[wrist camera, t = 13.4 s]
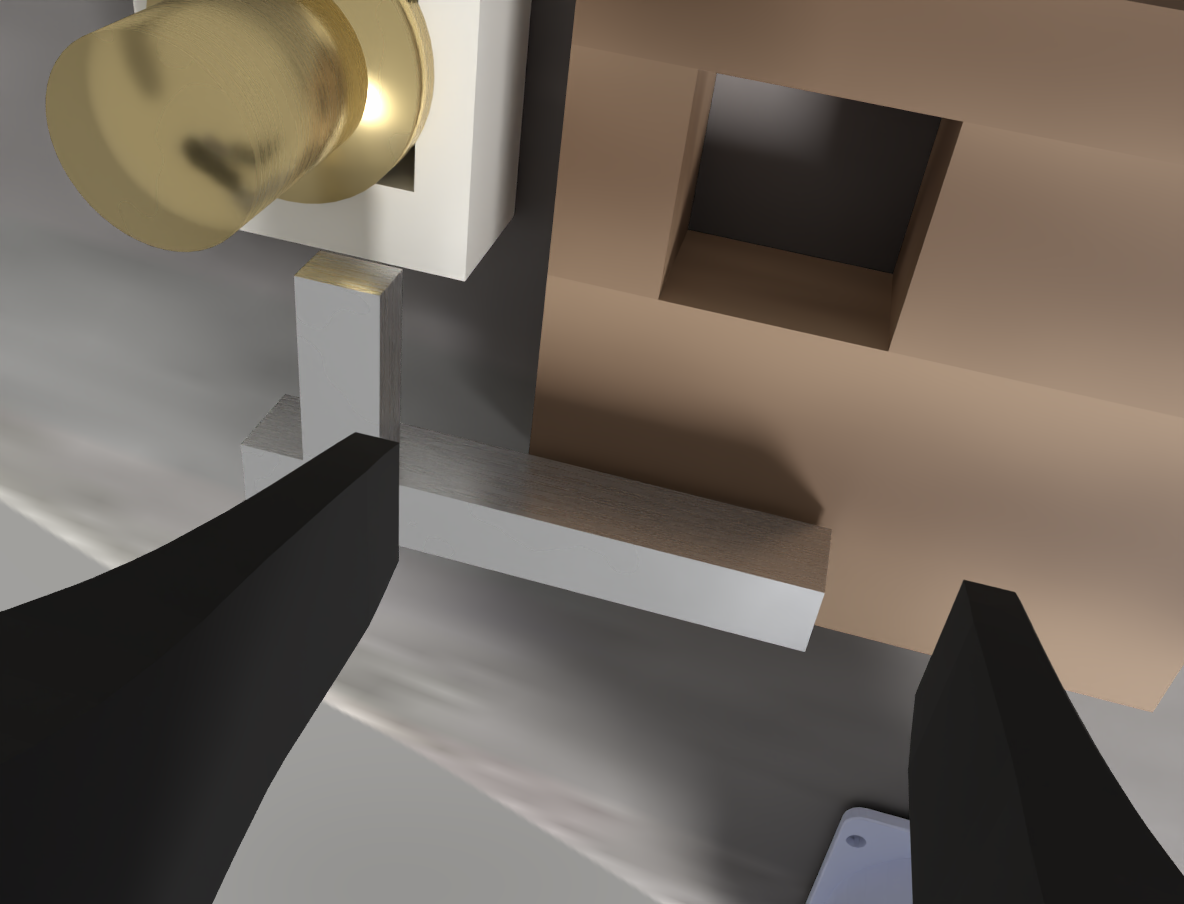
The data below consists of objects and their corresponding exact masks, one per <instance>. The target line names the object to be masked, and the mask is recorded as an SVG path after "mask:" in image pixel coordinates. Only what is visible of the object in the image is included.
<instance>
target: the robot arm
mask: <svg viewBox="0 0 1184 904" xmlns="http://www.w3.org/2000/svg"><path fill="white" fill-rule="evenodd" d="M398 561H399V442H395V441H391V440H387V439H383V438H379V437H374V436H370V435H366V434H362V433H358V432H354V433H353V434H351V435H349V436H348V437H346V438H344V439H343V440H341V441H340V442H338V443H336V444H335V445H333V446H332V447H330V448H328V449H327V450H325V451H324V452H322V453H320V454H319V455H317V456H316V457H314V458H312V459H311V460H309V461H308V462H306V463H305V464H303V465H301V466H300V467H298V468H297V469H295V470H294V471H292V472H290V473H289V474H287V475H286V476H284V477H283V478H281V479H279V480H278V481H276V482H275V483H273V484H271V485H270V486H268V487H266V488H265V489H263V490H262V491H260V492H258V493H257V494H255V495H253V496H252V497H250V498H248V499H247V500H245V501H243V502H242V503H240V504H238V505H237V506H235V507H233V508H232V509H230V510H228V511H227V512H225V513H223V514H221V515H219V516H218V517H216V518H214V519H212V520H210V521H208V522H207V523H205V524H203V525H201V526H199V527H197V528H196V529H194V530H192V531H190V532H188V533H186V534H184V535H183V536H181V537H179V538H177V539H175V540H173V541H172V542H170V543H168V544H166V545H164V546H162V547H160V548H158V549H156V550H154V551H152V552H150V553H148V554H145V555H143V556H141V557H139V558H137V559H135V560H133V561H131V562H128V563H126V564H124V565H121V566H119V567H117V568H114V569H112V570H110V571H108V572H105V573H103V574H101V575H99V576H96V577H94V578H92V579H89V580H86V581H84V582H82V583H79V584H77V585H74V586H71V587H68V588H65V589H63V590H60V591H57V592H54V593H52V594H49V595H47V596H44V597H41V598H38V599H35V600H33V601H30V602H27V603H24V604H21V605H19V606H16V607H13V608H11V609H8V610H5V611H1V612H0V904H212V903H213V901H214V899H215V897H216V894H217V892H218V890H219V888H220V886H221V884H222V882H223V879H224V877H225V875H226V873H227V871H228V869H229V867H230V865H231V862H232V860H233V858H234V856H235V854H236V852H237V850H238V848H239V846H240V844H241V842H242V840H243V838H244V836H245V834H246V832H247V830H248V828H249V826H250V823H251V822H252V820H253V818H254V815H255V814H256V811H257V810H258V807H259V805H260V803H261V801H262V799H263V797H264V795H265V793H266V791H267V789H268V787H269V786H270V784H271V782H272V780H273V779H274V777H275V775H276V773H277V771H278V770H279V768H280V767H281V765H282V763H283V761H284V760H285V758H286V756H287V755H288V753H289V751H290V750H291V748H292V747H293V745H294V744H295V742H296V741H297V739H298V737H299V736H300V734H301V733H302V731H303V730H304V728H305V726H306V725H307V723H308V722H309V720H310V718H311V717H312V715H313V714H314V712H315V711H316V709H317V708H318V706H319V704H320V703H321V701H322V700H323V698H324V697H325V695H326V693H327V692H328V690H329V689H330V687H331V686H332V684H333V682H334V681H335V679H336V678H337V676H338V675H339V673H340V671H341V670H342V668H343V667H344V665H345V663H346V662H347V660H348V659H349V657H350V655H351V654H352V652H353V651H354V649H355V647H356V646H357V644H358V643H359V641H360V639H361V638H362V636H363V635H364V633H365V631H366V630H367V628H368V626H369V625H370V622H371V620H372V618H373V616H374V614H375V612H376V610H377V608H378V606H379V603H380V601H381V599H382V597H383V595H384V593H385V590H386V588H387V586H388V584H389V581H390V579H391V577H392V575H393V572H394V570H395V568H396V566H397V563H398ZM908 779H909V814H910V820H907V819H904V818H900V817H897V816H893V815H889V814H886V813H882V812H878V811H875V810H871V809H868V808H862V807H855V808H851V809H849V810H847V811H846V812H845V813H844V814H843V816H842V818H841V821H840V823H839V826H838V828H837V830H836V833H835V835H834V837H833V840H832V842H831V845H830V847H829V849H828V852H827V854H826V856H825V859H824V861H823V863H822V866H821V868H820V871H819V873H818V875H817V878H816V880H815V882H814V885H813V887H812V889H811V892H810V894H809V897H808V899H807V901H806V904H1184V876H1183V874H1182V873H1181V872H1180V870H1179V869H1178V868H1177V866H1176V865H1175V864H1174V862H1173V861H1172V860H1171V858H1170V857H1169V856H1168V854H1167V853H1166V852H1165V850H1164V849H1163V848H1162V846H1161V845H1160V844H1159V842H1158V841H1157V840H1156V838H1155V837H1154V836H1153V834H1152V833H1151V832H1150V830H1149V829H1148V827H1147V826H1146V824H1145V823H1144V821H1143V820H1142V819H1141V817H1140V816H1139V814H1138V813H1137V811H1136V810H1135V808H1134V807H1133V805H1132V804H1131V802H1130V800H1129V799H1128V797H1127V796H1126V794H1125V792H1124V791H1123V789H1122V788H1121V786H1120V785H1119V783H1118V781H1117V780H1116V778H1115V777H1114V775H1113V774H1112V772H1111V770H1110V769H1109V767H1108V765H1107V764H1106V762H1105V760H1104V759H1103V757H1102V755H1101V754H1100V752H1099V750H1098V749H1097V747H1096V745H1095V744H1094V742H1093V740H1092V738H1091V736H1090V735H1089V733H1088V731H1087V729H1086V728H1085V726H1084V724H1083V722H1082V720H1081V719H1080V717H1079V715H1078V713H1077V711H1076V710H1075V708H1074V706H1073V704H1072V703H1071V701H1070V699H1069V697H1068V695H1067V693H1066V691H1065V689H1064V687H1063V686H1062V684H1061V682H1060V680H1059V678H1058V676H1057V674H1056V672H1055V670H1054V668H1053V666H1052V664H1051V662H1050V660H1049V658H1048V656H1047V654H1046V652H1045V650H1044V648H1043V646H1042V644H1041V642H1040V640H1039V638H1038V636H1037V634H1036V632H1035V630H1034V628H1033V625H1032V623H1031V621H1030V619H1029V617H1028V615H1027V613H1026V611H1025V609H1024V607H1023V605H1022V603H1021V601H1020V599H1019V597H1018V596H1017V594H1016V592H1013V591H1009V590H1005V589H1001V588H997V587H992V586H988V585H984V584H980V583H976V582H972V581H968V580H963V582H962V584H961V587H960V589H959V592H958V594H957V596H956V599H955V601H954V603H953V606H952V608H951V611H950V613H949V615H948V618H947V620H946V623H945V625H944V627H943V630H942V632H941V634H940V637H939V639H938V642H937V644H936V646H935V649H934V651H933V654H932V656H931V658H930V661H929V663H928V665H927V668H926V670H925V673H924V675H923V677H922V680H921V682H920V685H919V687H918V689H917V692H916V694H915V704H914V713H913V723H912V732H911V743H910V755H909V767H908Z"/></svg>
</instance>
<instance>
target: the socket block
mask: <svg viewBox="0 0 1184 904" xmlns="http://www.w3.org/2000/svg"><path fill="white" fill-rule="evenodd" d="M717 73H720V74H725V75H730V76H735V77H740V78H745V79H750V80H755V81H760V82H765V83H770V84H775V85H781V86H786V87H791V88H796V89H801V90H806V91H811V92H816V93H821V94H826V95H831V96H836V97H841V98H846V99H851V100H856V101H861V102H867V103H872V104H877V105H882V106H887V107H892V108H897V109H902V110H907V111H912V112H917V113H922V114H927V115H932V116H937V117H942V119H941V122H940V125H939V129H938V132H937V135H936V138H935V141H934V145H933V148H932V151H931V154H930V157H929V161H928V164H927V167H926V170H925V173H924V176H923V180H922V183H921V186H920V189H919V192H918V196H917V199H916V202H915V205H914V208H913V212H912V215H911V218H910V221H909V224H908V227H907V231H906V234H905V237H904V240H903V243H902V247H901V250H900V253H899V256H898V259H897V262H896V266H895V269H894V272H893V274H890V273H886V272H881V271H876V270H872V269H867V268H863V267H858V266H853V265H849V264H844V263H839V262H835V261H830V260H826V259H821V258H816V257H812V256H807V255H802V254H798V253H793V252H789V251H784V250H779V249H775V248H770V247H766V246H761V245H756V244H752V243H747V242H742V241H738V240H733V239H729V238H724V237H719V236H715V235H710V234H705V233H701V232H696V231H692V230H688V226H689V221H690V215H691V210H692V205H693V199H694V194H695V188H696V183H697V177H698V172H699V167H700V161H701V156H702V150H703V145H704V139H705V134H706V129H707V123H708V118H709V112H710V107H711V101H712V96H713V91H714V85H715V80H716V74H717ZM529 455H533V456H538V457H542V458H546V459H550V460H554V461H558V462H562V463H566V464H570V465H574V466H578V467H582V468H586V469H590V470H594V471H598V472H602V473H606V474H610V475H614V476H619V477H623V478H627V479H631V480H635V481H639V482H643V483H647V484H651V485H655V486H659V487H663V488H667V489H671V490H675V491H679V492H683V493H687V494H691V495H695V496H700V497H704V498H708V499H712V500H716V501H720V502H724V503H728V504H732V505H736V506H740V507H744V508H748V509H752V510H756V511H760V512H764V513H768V514H772V515H776V516H781V517H785V518H789V519H793V520H797V521H801V522H805V523H809V524H813V525H817V526H821V527H825V528H829V529H832V533H831V542H830V551H829V560H828V569H827V577H826V586H825V594H824V597H823V600H822V603H821V606H820V609H819V612H818V615H817V617H816V620H815V623H814V625H816V626H820V627H824V628H828V629H832V630H835V631H839V632H843V633H847V634H851V635H855V636H859V637H863V638H866V639H870V640H874V641H878V642H882V643H886V644H890V645H893V646H897V647H901V648H905V649H909V650H913V651H917V652H921V653H924V654H928V655H932V654H933V651H934V649H935V646H936V644H937V642H938V639H939V637H940V634H941V632H942V630H943V627H944V625H945V623H946V620H947V618H948V615H949V613H950V611H951V608H952V606H953V603H954V601H955V599H956V596H957V594H958V592H959V589H960V587H961V584H962V582H963V580H968V581H972V582H976V583H980V584H984V585H988V586H992V587H997V588H1001V589H1005V590H1009V591H1013V592H1016V594H1017V596H1018V597H1019V599H1020V601H1021V603H1022V605H1023V607H1024V609H1025V611H1026V613H1027V615H1028V617H1029V619H1030V621H1031V623H1032V625H1033V628H1034V630H1035V632H1036V634H1037V636H1038V638H1039V640H1040V642H1041V644H1042V646H1043V648H1044V650H1045V652H1046V654H1047V656H1048V658H1049V660H1050V662H1051V664H1052V666H1053V668H1054V670H1055V672H1056V674H1057V676H1058V678H1059V680H1060V682H1061V684H1062V686H1063V687H1064V689H1065V690H1068V691H1072V692H1075V693H1079V694H1083V695H1087V696H1091V697H1095V698H1099V699H1103V700H1106V701H1110V702H1114V703H1118V704H1122V705H1126V706H1130V707H1133V708H1137V709H1141V710H1145V711H1149V712H1153V711H1154V710H1155V708H1156V707H1157V705H1158V703H1159V702H1160V700H1161V699H1162V697H1163V696H1164V694H1165V693H1166V691H1167V689H1168V688H1169V686H1170V685H1171V683H1172V682H1173V680H1174V679H1175V677H1176V675H1177V674H1178V672H1179V671H1180V669H1181V668H1182V666H1183V665H1184V0H576V5H575V14H574V24H573V34H572V43H571V53H570V63H569V72H568V82H567V91H566V101H565V111H564V120H563V130H562V140H561V149H560V159H559V168H558V178H557V188H556V197H555V207H554V217H553V226H552V236H551V245H550V255H549V265H548V274H547V284H546V293H545V303H544V313H543V322H542V332H541V342H540V351H539V361H538V370H537V380H536V390H535V399H534V409H533V419H532V428H531V438H530V447H529Z"/></svg>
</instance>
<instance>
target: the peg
mask: <svg viewBox="0 0 1184 904" xmlns="http://www.w3.org/2000/svg"><path fill="white" fill-rule="evenodd" d="M433 90H434V58H433V51H432V45H431V39H430V36H429V32H428V28H427V25H426V21H425V18H424V16H423V13H422V11H421V9H420V6H419V4H418V0H147V5H146V9H144V10H141V11H139V12H137V13H134V14H132V15H130V16H128V17H125V18H123V19H121V20H119V21H116V22H114V23H112V24H110V25H107V26H105V27H103V28H101V29H98V30H96V31H94V32H92V33H89V34H87V35H85V36H83V37H81V38H79V39H78V40H76V41H74V42H73V43H71V44H70V45H69V46H68V47H67V48H66V49H65V50H64V51H63V52H62V54H61V55H60V56H59V58H58V59H57V61H56V62H55V65H54V67H53V69H52V71H51V73H50V77H49V80H48V84H47V91H46V117H47V124H48V129H49V133H50V137H51V140H52V143H53V146H54V149H55V151H56V154H57V156H58V158H59V160H60V162H61V165H62V167H63V169H64V170H65V172H66V174H67V175H68V177H69V179H70V180H71V182H72V183H73V185H74V186H75V187H76V189H77V190H78V191H79V193H80V194H81V195H82V196H83V198H84V199H85V200H86V201H87V202H88V203H89V204H90V206H91V207H93V208H94V209H95V210H96V211H97V212H98V213H99V214H100V215H101V216H102V217H103V218H104V219H106V220H107V221H108V222H109V223H111V224H112V225H113V226H115V227H116V228H118V229H119V230H121V231H122V232H124V233H125V234H127V235H129V236H131V237H133V238H134V239H136V240H138V241H141V242H143V243H145V244H148V245H150V246H154V247H157V248H161V249H164V250H170V251H177V252H192V251H200V250H204V249H208V248H211V247H214V246H216V245H218V244H220V243H222V242H223V241H225V240H226V239H228V238H229V237H231V236H232V235H233V234H234V233H235V232H237V231H238V230H239V229H240V228H242V227H243V226H244V225H245V224H246V223H248V222H249V221H250V220H251V219H253V218H254V217H255V216H256V215H257V214H259V213H260V212H261V211H262V210H263V209H265V208H266V207H267V206H268V205H270V204H271V203H272V202H273V201H274V200H276V199H277V198H278V199H282V200H286V201H291V202H297V203H304V204H322V203H330V202H337V201H340V200H344V199H347V198H351V197H353V196H355V195H357V194H359V193H361V192H364V191H365V190H367V189H368V188H370V187H371V186H373V185H374V184H376V183H377V182H378V181H379V180H380V179H381V178H382V177H383V176H384V175H386V174H387V173H388V172H389V171H390V170H391V169H392V168H393V167H394V166H395V165H396V164H397V163H398V162H399V161H400V160H401V159H402V158H404V157H405V156H406V155H407V153H408V152H409V151H410V149H411V148H412V147H413V146H414V144H415V143H416V141H417V139H418V138H419V136H420V134H421V132H422V130H423V128H424V126H425V123H426V120H427V118H428V115H429V112H430V107H431V103H432V98H433Z"/></svg>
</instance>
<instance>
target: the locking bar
mask: <svg viewBox="0 0 1184 904" xmlns="http://www.w3.org/2000/svg"><path fill="white" fill-rule="evenodd" d="M402 286H403V269H400V268H395V267H391V266H387V265H382V264H378V263H374V262H369V261H365V260H360V259H356V258H352V257H347V256H343V255H339V254H334V253H330V252H325V251H321V250H320V251H319V252H318V253H317V254H316V255H315V256H314V257H313V258H312V259H311V260H310V261H309V262H308V263H307V264H306V265H305V266H304V267H302V268H301V269H300V270H299V271H298V272H297V273H296V274H295V275H294V288H295V308H296V328H297V348H298V368H299V388H300V398H299V397H295V396H291V395H286V394H285V395H284V396H283V397H282V398H281V399H280V400H279V402H278V403H277V404H276V405H275V406H274V407H273V408H272V410H271V411H270V412H269V413H268V414H267V415H266V416H265V418H264V419H263V420H262V421H261V422H260V423H259V424H258V425H257V427H256V428H255V429H254V430H253V431H252V432H251V433H250V435H249V436H248V437H247V438H246V439H245V440H244V441H243V443H242V444H241V453H242V464H243V475H244V485H245V496H246V500H247V499H248V498H250V497H252V496H253V495H255V494H257V493H258V492H260V491H262V490H263V489H265V488H266V487H268V486H270V485H271V484H273V483H275V482H276V481H278V480H279V479H281V478H283V477H284V476H286V475H287V474H289V473H290V472H292V471H294V470H295V469H297V468H298V467H300V466H301V465H303V464H305V463H306V462H308V461H309V460H311V459H312V458H314V457H316V456H317V455H319V454H320V453H322V452H324V451H325V450H327V449H328V448H330V447H332V446H333V445H335V444H336V443H338V442H340V441H341V440H343V439H344V438H346V437H348V436H349V435H351V434H353V433H354V432H358V433H362V434H366V435H370V436H374V437H379V438H383V439H387V440H391V441H395V442H399V546H402V547H405V548H409V549H413V550H417V551H421V552H424V553H428V554H432V555H436V556H440V557H444V558H447V559H451V560H455V561H459V562H463V563H466V564H470V565H474V566H478V567H482V568H486V569H489V570H493V571H497V572H501V573H505V574H509V575H512V576H516V577H520V578H524V579H528V580H531V581H535V582H539V583H543V584H547V585H551V586H554V587H558V588H562V589H566V590H570V591H573V592H577V593H581V594H585V595H589V596H593V597H596V598H600V599H604V600H608V601H612V602H616V603H619V604H623V605H627V606H631V607H635V608H638V609H642V610H646V611H650V612H654V613H658V614H661V615H665V616H669V617H673V618H677V619H680V620H684V621H688V622H692V623H696V624H700V625H703V626H707V627H711V628H715V629H719V630H723V631H726V632H730V633H734V634H738V635H742V636H745V637H749V638H753V639H757V640H761V641H765V642H768V643H772V644H776V645H780V646H784V647H787V648H791V649H795V650H799V651H803V652H805V650H806V647H807V644H808V641H809V638H810V635H811V632H812V629H813V626H814V623H815V620H816V617H817V615H818V612H819V609H820V606H821V603H822V600H823V597H824V594H825V586H826V577H827V569H828V560H829V551H830V542H831V533H832V529H829V528H825V527H821V526H817V525H813V524H809V523H805V522H801V521H797V520H793V519H789V518H785V517H781V516H776V515H772V514H768V513H764V512H760V511H756V510H752V509H748V508H744V507H740V506H736V505H732V504H728V503H724V502H720V501H716V500H712V499H708V498H704V497H700V496H695V495H691V494H687V493H683V492H679V491H675V490H671V489H667V488H663V487H659V486H655V485H651V484H647V483H643V482H639V481H635V480H631V479H627V478H623V477H619V476H614V475H610V474H606V473H602V472H598V471H594V470H590V469H586V468H582V467H578V466H574V465H570V464H566V463H562V462H558V461H554V460H550V459H546V458H542V457H538V456H533V455H529V454H525V453H521V452H517V451H513V450H509V449H505V448H501V447H497V446H493V445H489V444H485V443H481V442H477V441H473V440H469V439H465V438H461V437H457V436H452V435H448V434H444V433H440V432H436V431H432V430H428V429H424V428H420V427H416V426H412V425H408V424H404V423H400V412H401V349H402Z"/></svg>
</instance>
